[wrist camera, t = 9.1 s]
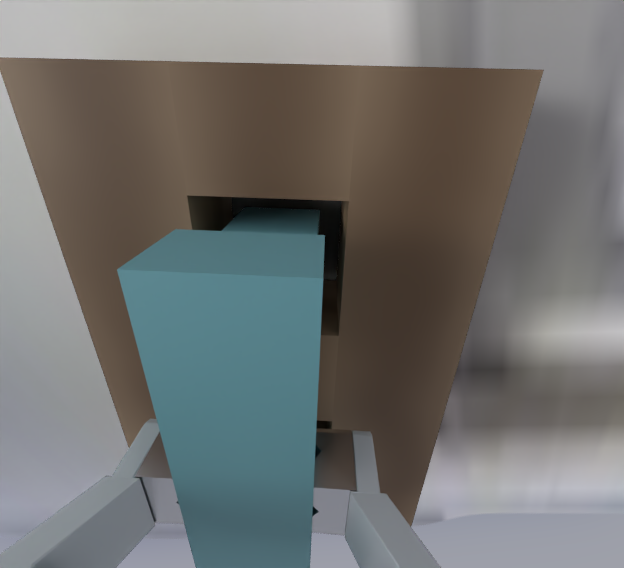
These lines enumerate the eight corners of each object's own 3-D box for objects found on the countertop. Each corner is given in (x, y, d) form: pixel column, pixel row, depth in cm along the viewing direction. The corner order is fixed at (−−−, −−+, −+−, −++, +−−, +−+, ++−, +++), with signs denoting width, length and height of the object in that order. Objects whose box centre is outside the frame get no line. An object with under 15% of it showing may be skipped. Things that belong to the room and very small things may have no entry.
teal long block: (256, 431, 16) (210, 623, 10) (238, 185, 11) (116, 269, 5) (315, 434, 16) (307, 630, 10) (326, 189, 11) (323, 278, 5)
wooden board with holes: (186, 442, 19) (152, 517, 15) (105, 79, 11) (-5, 57, 7) (393, 454, 18) (408, 534, 15) (470, 87, 10) (543, 70, 7)
